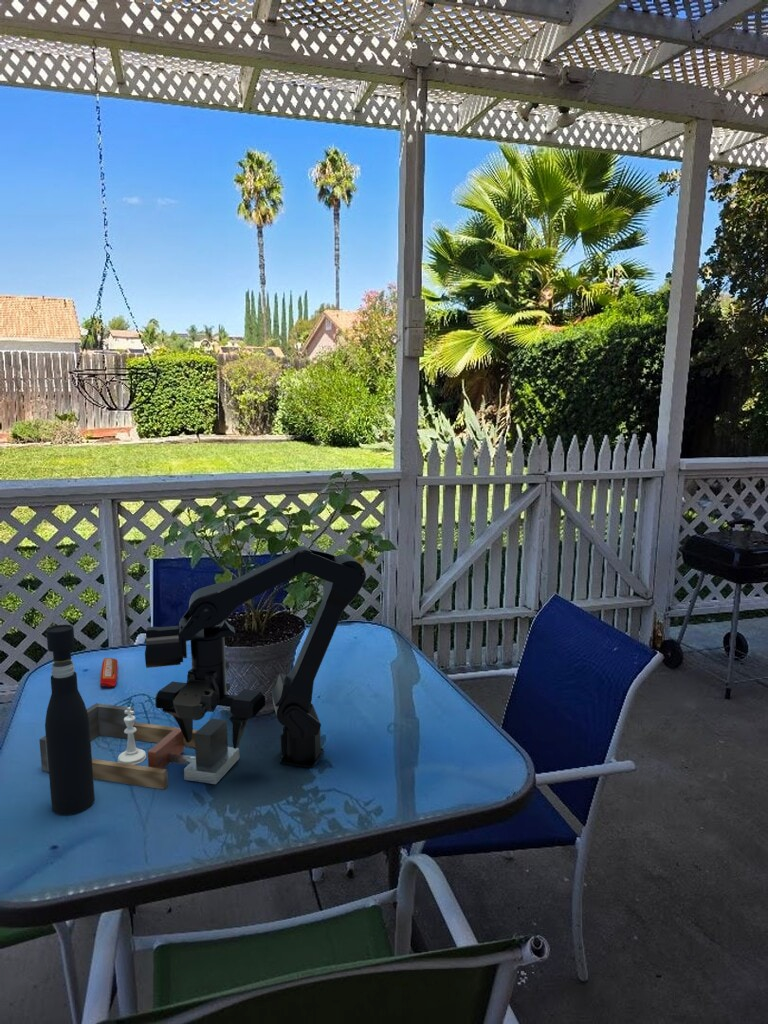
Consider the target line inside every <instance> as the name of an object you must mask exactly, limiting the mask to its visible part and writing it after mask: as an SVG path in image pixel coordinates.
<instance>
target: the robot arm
mask: <svg viewBox="0 0 768 1024" xmlns="http://www.w3.org/2000/svg"><path fill="white" fill-rule="evenodd" d="M303 573H306V574H308V575H312V576H314V577H317V578H319V579H321V580H324V583H323V594H322V599H321V602H320V603H319V606H318V608H317V611H316V613H315V615H314V618H313V620H312V623H311V625H310V627H309V630H308V632H307V634H306V638H305V639H304V642H303V645H302V647H301V649H300V650H299V654H298V656H297V659H296V661H295V663H294V666H293V667H292V669H291V670H290V671H289V672H288V673H287V674H284V673H283V672H279V674H278V677H277V681H276V684H275V685H274V687H273V688H272V689H271V691H270V692H271V695H272V696H271V697H272V704H273V709H274V711H275V715H276V718H277V721H278V722H279V723H280V725H282V726H283V727H282V733H281V734H280V755H281V756H282V757H280V760H279V764H281V765H288V766H295V767H303V768H309V769H311V768H314V767H315V766H316V764H317V763H318V762H319V760H320V758H321V757H322V755H323V754H324V752H325V749H324V748H323V747H322V746H321V745H322V743H321V742H322V739H321V737H322V734H321V733H322V732H321V727H322V724H321V721H320V719H319V718H320V717H319V716H318V714H317V711H316V709H315V706H314V704H313V703H312V701H313V692H314V684H315V682H314V681H315V679H316V677H317V674H318V672H319V670H320V667H321V665H322V662H323V660H324V658H325V655H326V653H327V650H328V649H329V646H330V643H331V641H332V639H333V636H334V635H335V631H336V630H337V627H338V625H339V622H340V620H341V618H342V615H343V612H344V611H345V609H346V608H347V607H348V606H349V605H350V604H351V603H352V602H353V601H354V600H355V599H356V597H357V595H358V594H359V592H360V591H361V590H362V588H363V586H364V585H365V583H366V578H367V574H366V571H365V568H364V567H363V566H362V564H361V563H360V562H359V561H358V560H357V559H356V558H355V557H354V556H352V555H350V554H346V553H340V554H337V555H334V554H331V553H328V552H324V551H321V550H315V549H311V548H309V547H307V546H304V545H299V546H296V547H294V548H293V549H292V550H291V551H289V552H287V553H284V554H283V555H281V556H279V557H277V558H275V559H272V560H271V561H268V562H267V563H265V564H263V565H261V566H259V567H257V568H255V569H252V570H251V571H249V572H246V573H245V574H243V575H241V576H240V577H237V578H235V579H231V580H229V581H223V582H218V583H214V584H210V585H207V586H204V587H201V588H198V589H196V590H195V591H194V592H193V593H192V594H191V596H190V598H189V602H188V608H187V610H186V611H185V613H184V614H183V616H182V617H181V618H180V620H179V623H178V625H171V626H147V628H146V630H145V649H144V661H145V668H146V669H150V668H162V667H170V666H180V665H181V663H183V662H184V659H187V658H188V641H189V642H190V656H191V657H190V658H191V660H190V661H191V669H189V670H188V671H187V675H186V679H187V680H186V682H182V681H181V682H180V681H171V682H169V683H168V684H166V685H165V686H163V688H161V689H159V690H158V691H157V693H156V694H155V696H154V701H155V708H156V709H162V710H161V711H162V712H163V713H166V714H169V715H171V716H172V717H173V718H174V720H175V721H176V723H177V725H178V728H180V729H181V731H182V733H183V735H184V738H185V740H186V742H188V743H189V742H190V741H191V740H192V733H193V730H194V729H193V728H194V721H199V720H202V719H203V718H204V717H205V715H206V713H210V712H211V713H213V712H215V710H216V709H217V706H219V707H220V706H221V707H229V709H230V714H231V715H232V716H230V717H229V721H230V722H231V723H232V747H233V748H234V749H236V748H239V745H240V742H241V740H242V738H243V734H244V732H245V728H246V727H247V724H248V721H249V719H254V718H255V716H257V714H258V713H259V712H260V711H261V710H262V709H263V708H264V707H265V706H266V696H265V694H264V693H263V691H261V690H256V689H255V690H254V689H246V688H243V689H242V690H241V691H240V692H238V694H236V695H234V694H232V695H231V694H227V693H228V691H230V689H231V685H230V683H227V673H226V672H227V670H228V669H229V668H230V661H226V651H225V650H226V649H225V645H226V644H225V642H226V641H225V638H229V637H235V636H236V630H235V627H234V626H232V625H231V624H230V623H228V621H227V620H226V619H227V618H228V617H230V616H231V615H232V614H233V613H235V611H236V610H237V609H238V608H239V607H241V606H242V605H243V604H244V603H246V602H248V601H249V600H251V599H253V598H255V597H257V596H259V595H261V594H263V593H265V592H267V591H269V590H271V589H273V588H275V587H277V586H279V585H281V584H283V583H285V582H287V581H289V580H291V579H293V578H294V577H297V576H298V575H301V574H303ZM321 747H322V748H321Z"/></svg>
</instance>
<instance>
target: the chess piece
mask: <svg viewBox="0 0 768 1024" xmlns="http://www.w3.org/2000/svg"><path fill="white" fill-rule="evenodd" d="M127 707H128V708H127V710H125V711H124V713H125V714H128V716H126V717H125V718H124V722H125V724H126V726H127V728H126V729H125V730H124V733H126V734H128V739H126V741H127V743H126V749H125V751H123V752H121V753H120V754H119V755H118V757H117V762H118V763H125V764H132V765H138V764H140V763H142V762H144V761H145V760H146V759H147V755H146V751H145V750H143V749H141V748H138V747H137V746H136V745H137V744H136V741H135V740H134V734H133V733H134V732H136V728H135V727H133V725H134V721H136V716H135V710H134V711H131V708H132V707H129V706H127ZM131 714H134V716H132V715H131Z"/></svg>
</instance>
